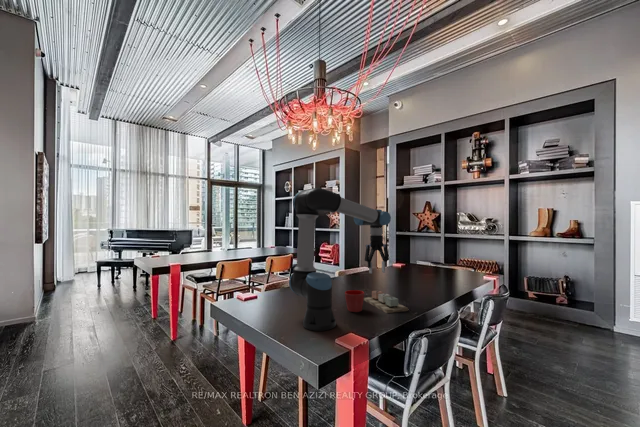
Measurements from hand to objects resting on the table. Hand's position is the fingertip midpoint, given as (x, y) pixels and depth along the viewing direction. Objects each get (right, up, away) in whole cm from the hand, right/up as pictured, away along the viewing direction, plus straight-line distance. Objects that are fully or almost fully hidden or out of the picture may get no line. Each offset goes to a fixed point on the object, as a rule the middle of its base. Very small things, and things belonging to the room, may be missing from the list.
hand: (377, 272), depth 172 cm
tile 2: (+5, -14, -16) cm, 22 cm away
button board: (+3, -17, -8) cm, 19 cm away
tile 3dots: (0, -15, -1) cm, 15 cm away
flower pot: (-16, -17, -17) cm, 29 cm away
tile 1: (+3, -15, -8) cm, 17 cm away
